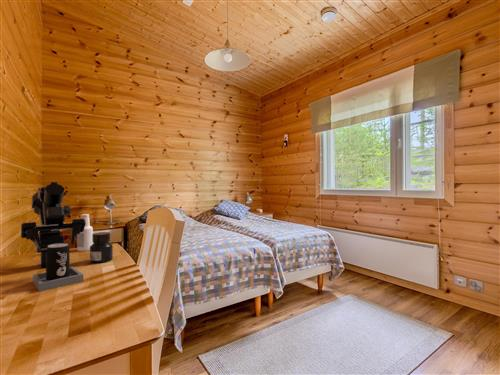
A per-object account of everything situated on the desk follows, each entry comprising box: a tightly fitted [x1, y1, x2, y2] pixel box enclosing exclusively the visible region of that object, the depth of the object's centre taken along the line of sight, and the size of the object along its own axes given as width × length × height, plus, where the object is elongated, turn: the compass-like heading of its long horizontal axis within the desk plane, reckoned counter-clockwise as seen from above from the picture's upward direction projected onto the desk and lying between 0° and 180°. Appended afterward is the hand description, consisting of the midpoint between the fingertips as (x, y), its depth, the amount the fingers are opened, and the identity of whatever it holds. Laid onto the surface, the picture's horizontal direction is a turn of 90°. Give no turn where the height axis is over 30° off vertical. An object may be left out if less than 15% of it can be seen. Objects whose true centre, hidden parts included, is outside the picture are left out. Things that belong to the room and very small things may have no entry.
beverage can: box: [45, 242, 71, 281], centre depth 91 cm, size 7×7×12 cm
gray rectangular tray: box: [32, 266, 84, 292], centre depth 91 cm, size 12×12×2 cm
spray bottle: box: [76, 213, 94, 252], centre depth 134 cm, size 7×7×18 cm
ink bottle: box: [89, 231, 114, 264], centre depth 116 cm, size 10×9×12 cm
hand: (57, 246), depth 92 cm, fingers open, 9 cm apart
